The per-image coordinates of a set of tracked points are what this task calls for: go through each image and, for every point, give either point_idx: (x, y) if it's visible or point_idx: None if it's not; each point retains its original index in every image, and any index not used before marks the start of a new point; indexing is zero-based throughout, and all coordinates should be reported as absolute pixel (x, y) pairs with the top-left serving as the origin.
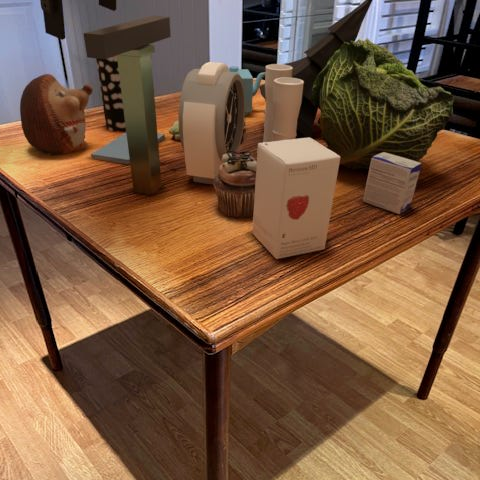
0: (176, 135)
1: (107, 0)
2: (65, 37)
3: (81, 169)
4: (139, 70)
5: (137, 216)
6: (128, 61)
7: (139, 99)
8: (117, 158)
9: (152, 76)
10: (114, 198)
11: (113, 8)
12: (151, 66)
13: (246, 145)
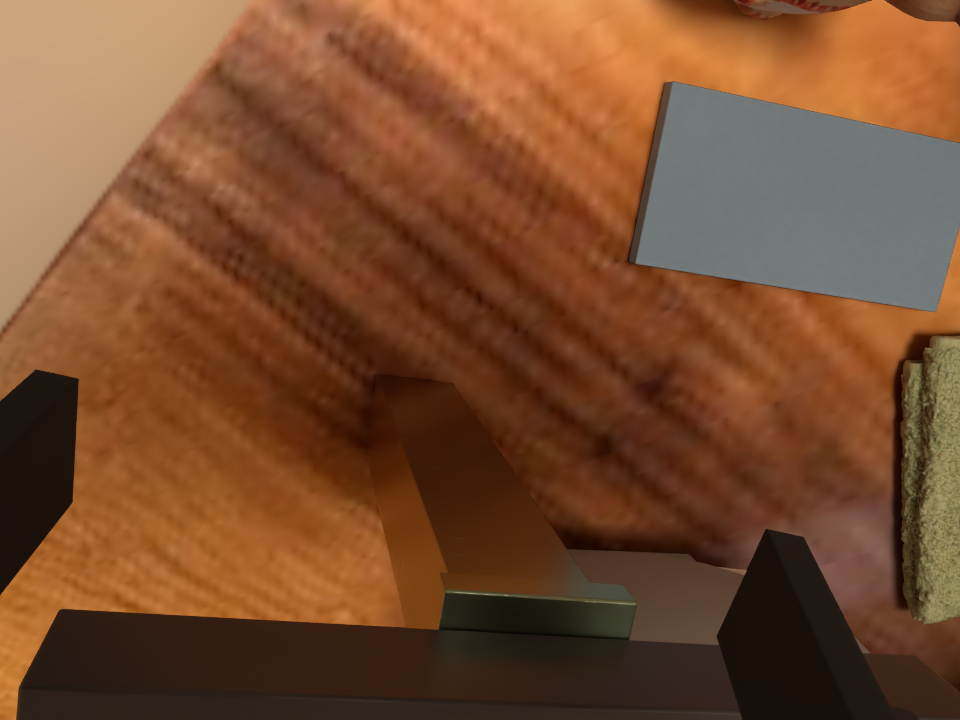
0: (916, 369)
1: (752, 633)
2: (70, 504)
3: (544, 87)
4: None
5: (185, 457)
6: None
7: (406, 590)
8: (644, 213)
9: None
10: (306, 326)
11: (720, 646)
12: None
13: (880, 628)
